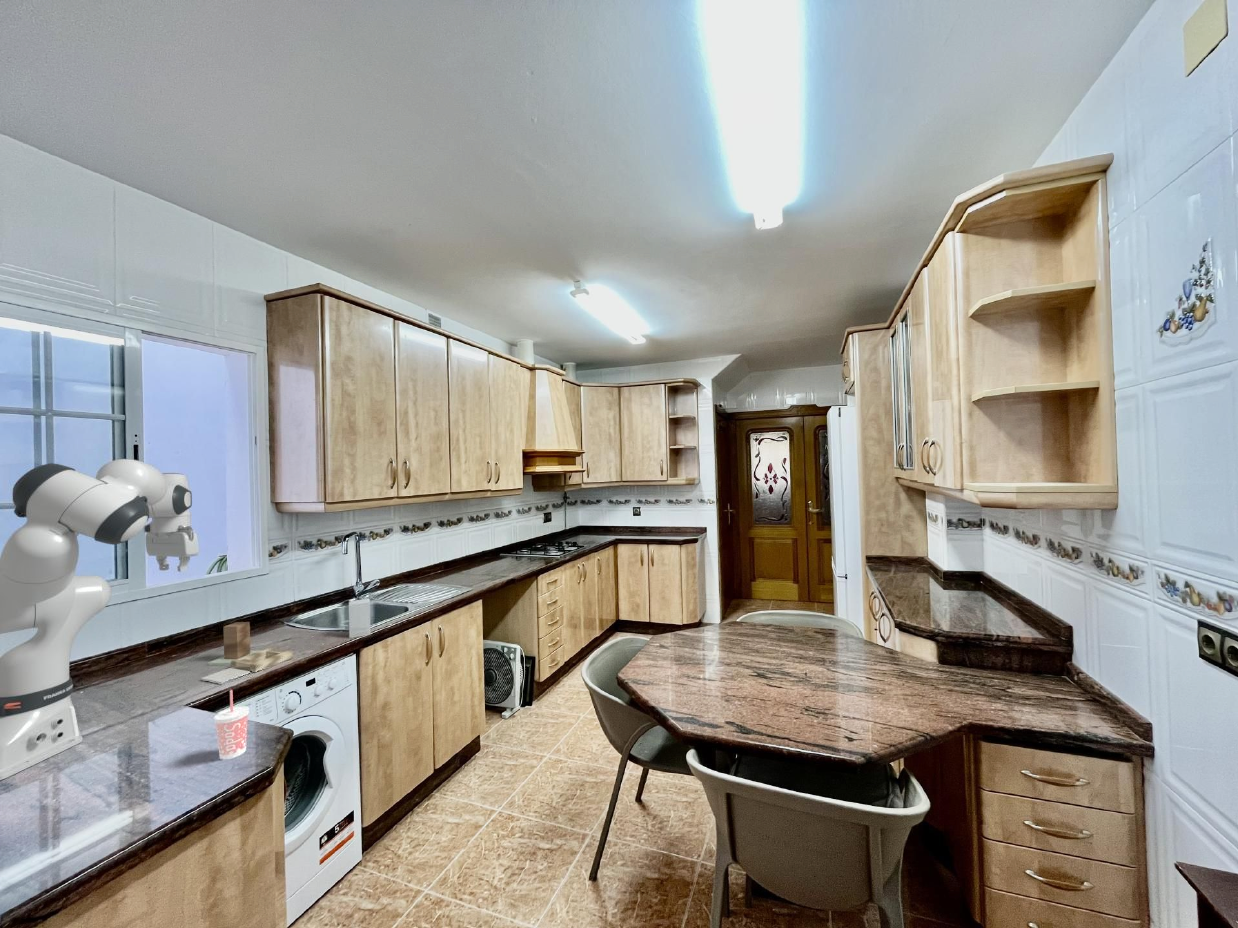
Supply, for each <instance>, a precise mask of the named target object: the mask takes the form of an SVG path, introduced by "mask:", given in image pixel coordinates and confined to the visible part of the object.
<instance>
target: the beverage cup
mask: <svg viewBox="0 0 1238 928" xmlns="http://www.w3.org/2000/svg"><path fill="white" fill-rule="evenodd" d="M233 696H234V695H233V689H230V690H229V708H227V709H225V710H223V711H220V712H218V713H217V714H215V716H214V717H213V720H214V723H215V728H216V736H217V746H218V756H219V759H220V760H231V759H234V758H236V757H239V756H241V755H242V754H244V753H245V752H246V751H247V734H248V717H249V716H248V714H249V712H250V708H249V706H246V705H241V706H235V707H234V701H233V699H234V697H233Z"/></svg>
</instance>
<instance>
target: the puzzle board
mask: <svg viewBox="0 0 1238 928" xmlns="http://www.w3.org/2000/svg"><path fill="white" fill-rule="evenodd" d="M258 651H259V652H256V653H253V654H250V655H248V656H245V657H242V658H239V659H236V660H233V661H231V665H230V667H228V668H225V669H223V670H221V671H218V672H217V671H216V672H214V673H211V674H209V675H206V676H203V677H201V678H200V680H201V679H202V680H205V681H214V682H219V683H223V682H225V681H228V680H229V679H233V678H237V677H238V676H243V675H245V674H248V673H250V674H251V673H253V672H257V671H258V670H262V669H265V670H267V669H266V668H267V667H270V668H272V667H271V666H273V665H275V664H276V663H280V662H282V661H284V660H287V659H290V658H293V659H294V651H292V650H286V649H279V648H273V647H272V648H271V647H267V648H266V649H265V648H264V649H262V650H258ZM275 666H276V665H275ZM273 667H274V666H273ZM245 670H246V671H245ZM250 671H252V672H250ZM262 671H263V670H262ZM257 673H258V672H257ZM243 677H244V676H243Z"/></svg>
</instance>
